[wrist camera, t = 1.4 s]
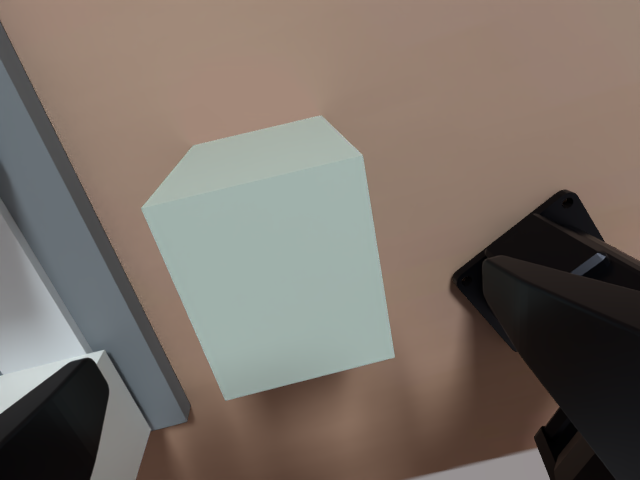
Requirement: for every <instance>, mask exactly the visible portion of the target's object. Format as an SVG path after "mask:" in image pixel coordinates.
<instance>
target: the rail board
mask: <svg viewBox="0 0 640 480" xmlns="http://www.w3.org/2000/svg"><path fill="white" fill-rule="evenodd" d="M87 357H88V358H91V359H93V360H94V361H95V363H96V364H97V366H98V368H99V369H100V371H101V373H102V374H103V376H104V378H105V379H106V381H107V383H108V386H109V399H108V404H107V409H106V414H105V419H104V424H103V429H102V434H101V439H100V444H99V449H98V453H97V457H96V462H95V465H94V469H93V472H92V476H91V479H90V480H136V477H137V474H138V471H139V467H140V464H141V461H142V457H143V454H144V451H145V448H146V444H147V441H148V438H149V434H150V431H153V430H157V429H161V428H165V427H169V426H173V425H177V424H181V423H184V422H187V420H188V416H189V411H190V406H191V405H190V403H189V401H188V399H187V397H186V395H185V393H184V391H183V389H182V387H181V385H180V383H179V381H178V379H177V377H176V375H175V373H174V371H173V369H172V367H171V365H170V363H169V361H168V359H167V357H166V355H165V353H164V351H163V349H162V347H161V345H160V343H159V341H158V339H157V337H156V335H155V333H154V331H153V329H152V327H151V325H150V323H149V321H148V319H147V316H146V314H145V312H144V310H143V308H142V306H141V304H140V302H139V300H138V298H137V296H136V294H135V292H134V290H133V288H132V286H131V284H130V282H129V280H128V278H127V276H126V274H125V272H124V270H123V268H122V266H121V264H120V262H119V260H118V258H117V256H116V254H115V252H114V250H113V248H112V246H111V244H110V242H109V240H108V238H107V236H106V234H105V232H104V230H103V228H102V226H101V224H100V222H99V220H98V218H97V216H96V214H95V212H94V210H93V208H92V206H91V204H90V202H89V200H88V198H87V196H86V194H85V192H84V189H83V187H82V185H81V183H80V181H79V179H78V177H77V175H76V173H75V171H74V169H73V167H72V165H71V163H70V161H69V159H68V157H67V155H66V153H65V151H64V149H63V147H62V145H61V143H60V141H59V139H58V137H57V135H56V133H55V131H54V129H53V127H52V125H51V123H50V121H49V119H48V117H47V115H46V113H45V111H44V109H43V107H42V105H41V103H40V101H39V99H38V97H37V95H36V93H35V91H34V89H33V87H32V85H31V83H30V81H29V79H28V77H27V75H26V73H25V71H24V69H23V67H22V65H21V63H20V60H19V58H18V56H17V54H16V52H15V50H14V48H13V46H12V44H11V42H10V40H9V38H8V36H7V34H6V32H5V30H4V28H3V26H2V24H1V22H0V414H1V413H2V412H3V411H5V410H6V409H7V408H9V407H10V406H11V405H13V404H14V403H15V402H17V401H18V400H19V399H21V398H22V397H23V396H25V395H26V394H27V393H29V392H30V391H31V390H33V389H34V388H35V387H37V386H38V385H39V384H41V383H42V382H43V381H45V380H46V379H47V378H49V377H50V376H51V375H53V374H54V373H55V372H57V371H58V370H59V369H61V368H62V367H63V366H65V365H66V364H67V363H69V362H71V361H74V360H78V359H82V358H87Z"/></svg>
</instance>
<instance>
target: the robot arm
mask: <svg viewBox="0 0 640 480" xmlns="http://www.w3.org/2000/svg"><path fill="white" fill-rule="evenodd" d="M565 199H567V201H566V202H565V204H563V201H564V200H565ZM562 204H563V205H562ZM467 276H468V278H467V279H466V280H465V281H462V279H463V278H464V277H467ZM453 282H454V284H455V285H456V286H457V287H458V288H459V289H460V291H461V292H462V293H463V294H464V295H465V296H466V297H467V299H468V300H469V301H470V302H471V303H472V304H473V305H474V307H475V308H476V309H477V310H478V311H479V312H480V313H481V314H482V316H483V317H484V318H485V319H486V320H487V321H488V322H489V324H490V325H491V326H492V327H493V328H494V329H495V330H496V332H497V333H498V334H499V335H500V336H501V337H502V338H503V339H504V341H505V342H506V343H507V344H508V345H509V346H510V347H511V349H512V350H513V351H515V352H518V353H519V354H520V356H521V357H522V358H523V360H524V361H525V362H526V364H527V365H528V366H529V368H530V369H531V370H532V371H533V373H534V374H535V375H536V377H537V378H538V379H539V381H540V382H541V383H542V384H543V386H544V387H545V388H546V390H547V391H548V392H549V393H550V395H551V396H552V397H553V399H554V400H555V401H556V403H557V404H558V405H559V406H560V407H559V408H558V410H557V411H556V412H555V414H554V415H553V416H552V418H551V419H550V421H549V422H548V423H547V425H546V426H542V427H541V428H540V429H539V431H538V432H537V433H536V435H535V436H534V439H535V442H536V445H537V447H538V450H539V452H540V455H541V457H542V460H543V462H544V465H545V467H546V470H547V472H548V475H549V477H550V480H640V261H639V260H637V259H635V258H633V257H631V256H629V255H627V254H626V253H624V252H622V251H620V250H618V249H616V248H614V247H612V246H611V245H609V244H607V243H605V241H604V240H603V238H602V236H601V235H600V233H599V231H598V229H597V228H596V226H595V224H594V223H593V221H592V219H591V218H590V216H589V214H588V212H587V211H586V209H585V207H584V206H583V204H582V202H581V201H580V199H579V197H578V196H577V195H576V194H575V193H573V192H571V191H569V190H561V191H559V192H557V193H556V194H554V195H553V196H552V197H551V198H549V199H548V200H547V201H546V202H544V203H543V204H542V205H540V206H539V207H538V208H537V209H535V210H534V211H533V212H531V213H530V214H529V215H528V216H526V217H525V218H524V219H522V220H521V221H520V222H519V223H517V224H516V225H515V226H514V227H512V228H511V229H510V230H508V231H507V232H506V233H505V234H503V235H502V236H501V237H499V238H498V239H497V240H496V241H494V242H493V243H492V244H491V245H489V246H488V247H487V248H485V249H484V250H483V251H482V252H480V253H479V254H478V255H476V256H475V257H474V258H473V259H471V260H470V261H469V262H467V263H466V264H465V265H464V266H462V267H461V268H460V269H459V270H457V271H456V272H455V273H454V276H453ZM108 399H109V386H108V383H107V381H106V379H105V378H104V376H103V374H102V373H101V371H100V369H99V368H98V366H97V364H96V363H95V361H94V360H93V359H91V358H88V357H87V358H82V359H78V360H74V361H71V362H69V363H67V364H66V365H65V366H63V367H62V368H61V369H59V370H58V371H57V372H55V373H54V374H53V375H51V376H50V377H49V378H47V379H46V380H45V381H43V382H42V383H41V384H39V385H38V386H37V387H35V388H34V389H33V390H31V391H30V392H29V393H27V394H26V395H25V396H23V397H22V398H21V399H19V400H18V401H17V402H15V403H14V404H13V405H11V406H10V407H9V408H7V409H6V410H5V411H3V412H2V413H1V414H0V480H90V479H91V476H92V472H93V469H94V465H95V462H96V457H97V453H98V449H99V444H100V439H101V434H102V429H103V424H104V419H105V414H106V409H107V404H108Z"/></svg>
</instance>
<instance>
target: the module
mask: <svg viewBox="0 0 640 480" xmlns="http://www.w3.org/2000/svg"><path fill="white" fill-rule="evenodd" d="M141 209H142V211H143V214H144V216H145V218H146V221H147V223H148V225H149V227H150V230H151V232H152V234H153V237H154V239H155V241H156V243H157V246H158V248H159V250H160V253H161V255H162V257H163V259H164V262H165V264H166V266H167V269H168V271H169V273H170V275H171V278H172V280H173V282H174V284H175V287H176V289H177V291H178V294H179V296H180V298H181V300H182V303H183V305H184V307H185V310H186V312H187V314H188V316H189V319H190V321H191V323H192V326H193V328H194V330H195V332H196V335H197V337H198V339H199V342H200V344H201V346H202V348H203V351H204V353H205V355H206V358H207V360H208V362H209V364H210V367H211V369H212V371H213V374H214V376H215V378H216V380H217V383H218V385H219V387H220V390H221V392H222V394H223V396H224V399H225V401H226V400H230V399H234V398H238V397H242V396H246V395H250V394H254V393H258V392H262V391H266V390H269V389H273V388H277V387H281V386H285V385H289V384H293V383H297V382H301V381H305V380H309V379H312V378H316V377H320V376H324V375H328V374H332V373H336V372H340V371H344V370H348V369H352V368H355V367H359V366H363V365H367V364H371V363H375V362H379V361H383V360H387V359H391V358H395V355H394V349H393V342H392V336H391V330H390V324H389V317H388V311H387V305H386V298H385V292H384V286H383V280H382V273H381V267H380V261H379V254H378V248H377V242H376V235H375V229H374V223H373V217H372V210H371V204H370V198H369V191H368V185H367V179H366V173H365V166H364V160H363V155H362V154H361V153H360V152H359V151H358V150H357V149H356V148H355V147H354V146H353V145H352V144H351V143H349V142H348V141H347V140H346V139H345V138H344V137H343V136H342V135H341V134H340V133H339V132H338V131H337V130H336V129H335V128H334V127H333V126H332V125H331V124H330V123H329V122H328V121H327V120H326V119H325V118H324V117H323V116H321V115H320V116H316V117H312V118H308V119H303V120H299V121H295V122H291V123H286V124H282V125H278V126H274V127H269V128H265V129H261V130H257V131H252V132H248V133H244V134H240V135H235V136H231V137H227V138H223V139H218V140H214V141H210V142H206V143H201V144H197V145H193V146H192V147H191V149H190V150H189V151H188V152H187V153H186V155H185V156H184V157H183V158H182V159H181V161H180V162H179V163H178V164H177V166H176V167H175V168H174V169H173V170H172V172H171V173H170V174H169V175H168V176H167V178H166V179H165V180H164V181H163V182H162V184H161V185H160V186H159V187H158V189H157V190H156V191H155V192H154V193H153V195H152V196H151V197H150V198H149V199H148V201H147V202H146V203H145V204H144V205H143V207H142V208H141Z"/></svg>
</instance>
